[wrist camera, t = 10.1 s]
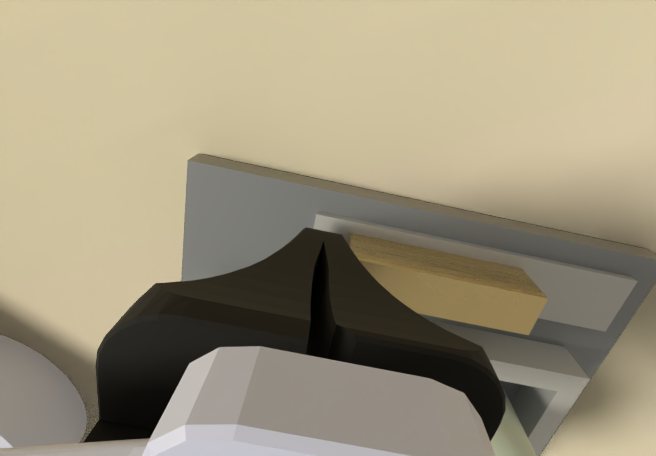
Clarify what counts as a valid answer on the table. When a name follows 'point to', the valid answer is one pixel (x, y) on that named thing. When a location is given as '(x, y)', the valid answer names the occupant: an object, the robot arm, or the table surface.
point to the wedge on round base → (36, 400)
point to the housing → (446, 236)
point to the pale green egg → (511, 435)
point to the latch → (452, 284)
